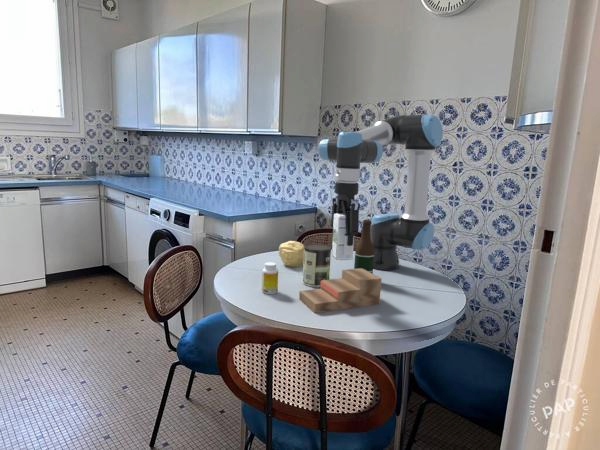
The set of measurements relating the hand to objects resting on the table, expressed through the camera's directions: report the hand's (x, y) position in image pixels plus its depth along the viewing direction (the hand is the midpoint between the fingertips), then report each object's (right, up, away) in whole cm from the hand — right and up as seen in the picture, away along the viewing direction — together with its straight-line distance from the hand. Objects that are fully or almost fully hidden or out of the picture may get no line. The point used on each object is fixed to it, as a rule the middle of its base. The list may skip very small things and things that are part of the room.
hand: (342, 252), depth 136 cm
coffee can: (-8, -13, +22) cm, 27 cm away
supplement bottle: (-25, -15, +10) cm, 30 cm away
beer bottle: (+11, -13, +27) cm, 32 cm away
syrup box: (0, -2, 0) cm, 2 cm away
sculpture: (-17, -9, +44) cm, 47 cm away
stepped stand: (-1, -17, +3) cm, 17 cm away
